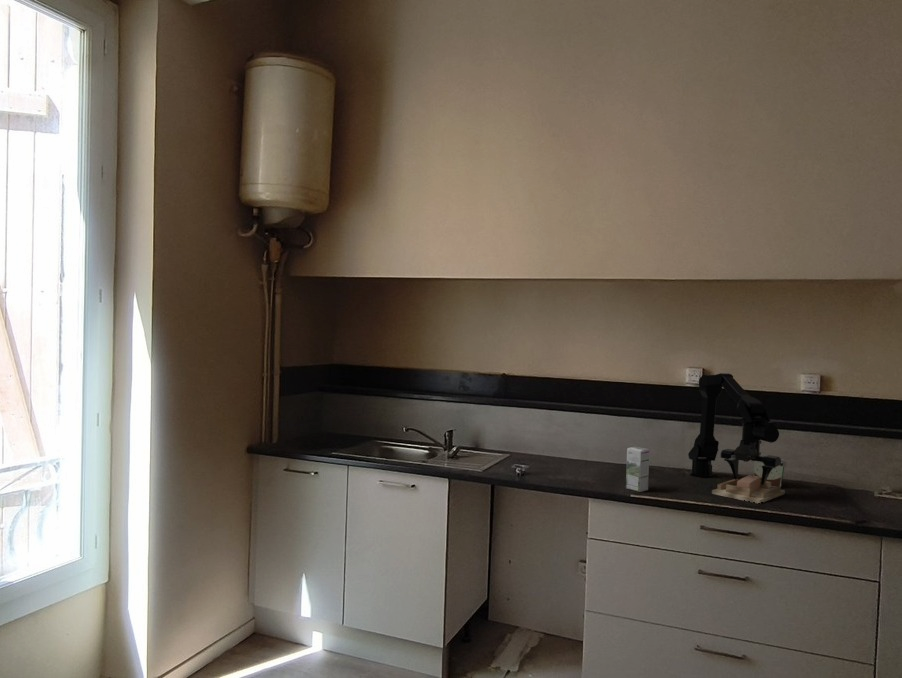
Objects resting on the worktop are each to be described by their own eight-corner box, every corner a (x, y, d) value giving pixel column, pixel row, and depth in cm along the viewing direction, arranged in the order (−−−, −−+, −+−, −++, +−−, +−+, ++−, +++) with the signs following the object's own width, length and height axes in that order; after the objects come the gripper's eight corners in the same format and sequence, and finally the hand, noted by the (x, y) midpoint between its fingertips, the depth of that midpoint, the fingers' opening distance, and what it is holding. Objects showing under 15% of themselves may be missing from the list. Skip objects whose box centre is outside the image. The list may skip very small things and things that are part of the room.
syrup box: (648, 490, 228) (650, 448, 228) (639, 492, 224) (640, 450, 224) (634, 486, 233) (636, 446, 232) (624, 489, 229) (626, 447, 228)
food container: (791, 486, 241) (792, 459, 241) (784, 489, 237) (785, 461, 237) (757, 480, 250) (758, 454, 250) (750, 482, 246) (751, 455, 246)
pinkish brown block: (736, 492, 224) (737, 481, 224) (748, 486, 234) (748, 474, 234) (748, 494, 221) (749, 483, 221) (760, 488, 232) (760, 476, 232)
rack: (711, 493, 226) (712, 483, 226) (739, 484, 241) (739, 475, 241) (759, 503, 214) (759, 492, 214) (784, 493, 230) (785, 483, 229)
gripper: (714, 435, 229) (712, 480, 229) (769, 443, 215) (767, 490, 215) (728, 433, 236) (726, 475, 237) (782, 440, 223) (780, 486, 223)
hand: (749, 482), depth 228 cm, fingers open, 9 cm apart
